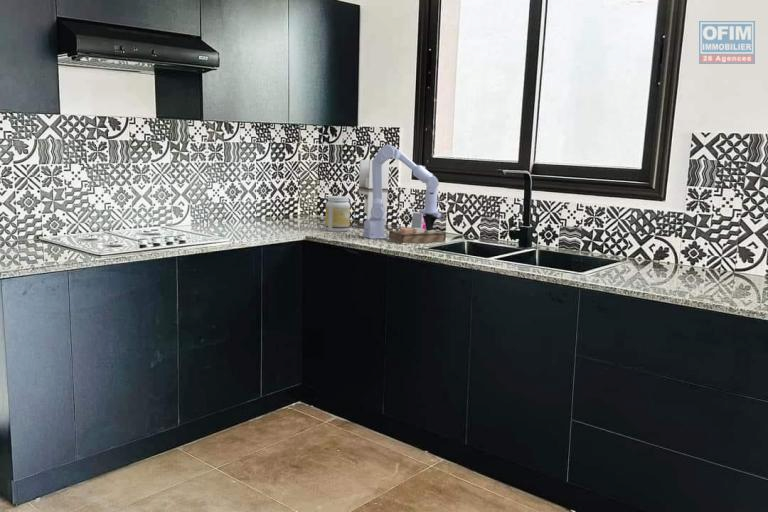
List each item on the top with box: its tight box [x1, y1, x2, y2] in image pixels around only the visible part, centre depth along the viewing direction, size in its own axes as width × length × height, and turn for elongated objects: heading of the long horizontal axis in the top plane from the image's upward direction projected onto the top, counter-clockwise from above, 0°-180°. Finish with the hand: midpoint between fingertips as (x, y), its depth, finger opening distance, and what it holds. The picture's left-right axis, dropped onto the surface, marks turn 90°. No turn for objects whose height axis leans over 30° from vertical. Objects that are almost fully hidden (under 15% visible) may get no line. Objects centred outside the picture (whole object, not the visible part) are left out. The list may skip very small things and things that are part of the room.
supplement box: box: [411, 211, 426, 230], centre depth 343 cm, size 6×6×12 cm
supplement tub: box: [324, 195, 351, 233], centre depth 344 cm, size 12×12×17 cm
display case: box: [356, 159, 390, 230], centre depth 358 cm, size 11×11×35 cm
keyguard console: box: [388, 229, 447, 244], centre depth 324 cm, size 24×12×4 cm, turn 122°
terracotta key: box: [399, 227, 413, 233], centre depth 320 cm, size 4×4×4 cm
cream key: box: [410, 227, 424, 233], centre depth 324 cm, size 4×4×4 cm
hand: (429, 230), depth 327 cm, fingers closed, pressing on sage key
